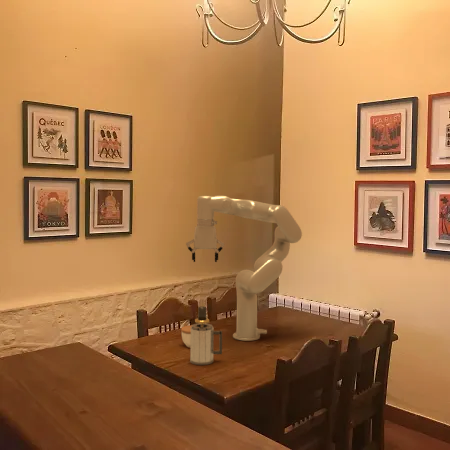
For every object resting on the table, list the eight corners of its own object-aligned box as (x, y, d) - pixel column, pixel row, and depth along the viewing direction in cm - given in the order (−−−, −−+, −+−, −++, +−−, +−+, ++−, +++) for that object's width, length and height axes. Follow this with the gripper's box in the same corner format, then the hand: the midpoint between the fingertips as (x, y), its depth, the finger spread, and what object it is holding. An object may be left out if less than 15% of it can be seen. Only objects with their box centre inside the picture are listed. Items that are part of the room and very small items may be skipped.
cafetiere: (220, 357, 204) (221, 322, 204) (222, 364, 195) (223, 328, 194) (190, 357, 203) (190, 323, 203) (190, 365, 194) (190, 329, 193)
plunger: (209, 355, 203) (210, 305, 201) (210, 360, 196) (210, 309, 195) (193, 355, 202) (194, 305, 201) (193, 360, 196) (194, 309, 194)
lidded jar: (202, 350, 213) (202, 328, 213) (178, 348, 216) (178, 326, 215) (208, 343, 224) (208, 322, 223) (184, 341, 226) (185, 320, 226)
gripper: (224, 223, 227) (223, 260, 228) (186, 222, 226) (185, 260, 227) (225, 224, 220) (224, 262, 221) (186, 223, 219) (185, 262, 220)
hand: (205, 261), depth 224 cm, fingers open, 9 cm apart
